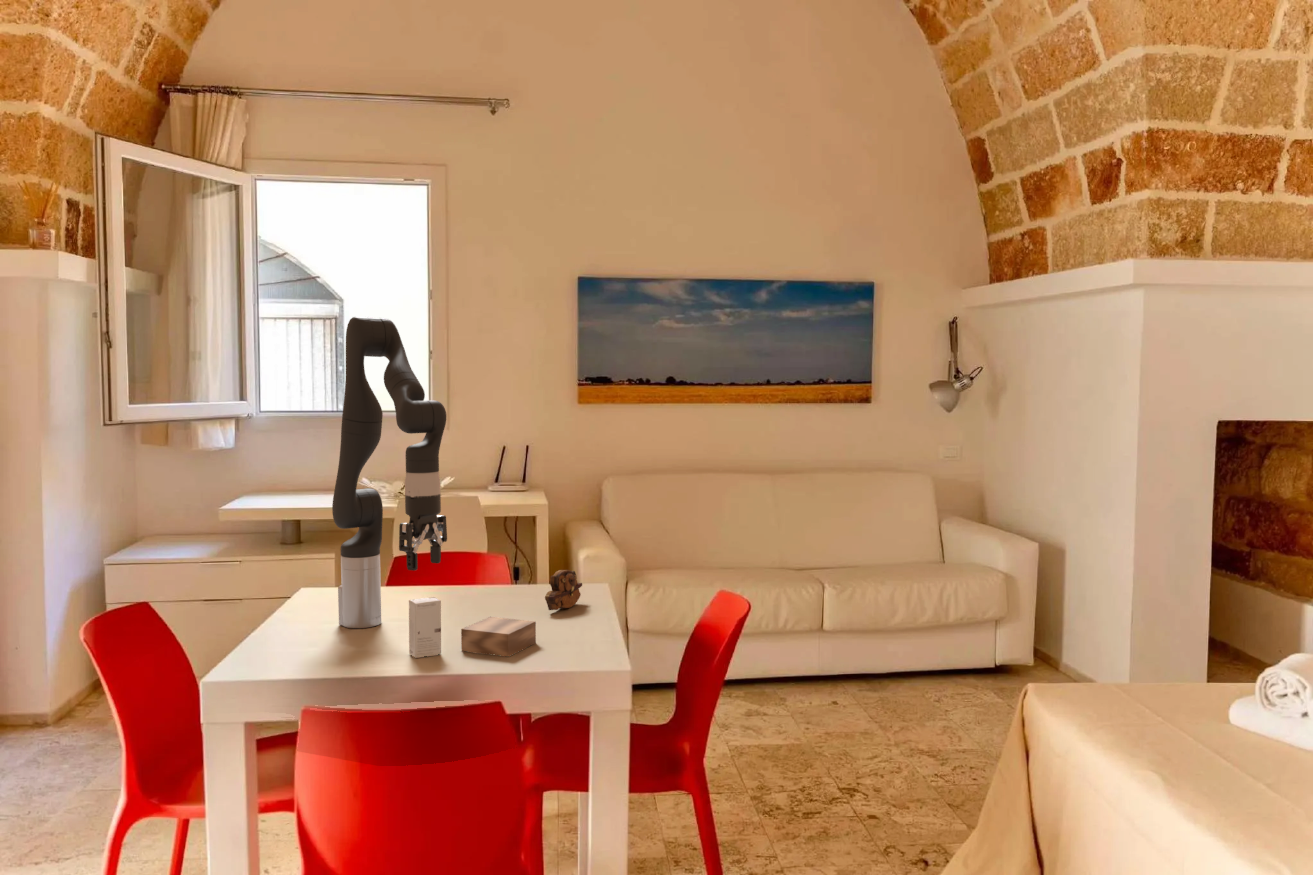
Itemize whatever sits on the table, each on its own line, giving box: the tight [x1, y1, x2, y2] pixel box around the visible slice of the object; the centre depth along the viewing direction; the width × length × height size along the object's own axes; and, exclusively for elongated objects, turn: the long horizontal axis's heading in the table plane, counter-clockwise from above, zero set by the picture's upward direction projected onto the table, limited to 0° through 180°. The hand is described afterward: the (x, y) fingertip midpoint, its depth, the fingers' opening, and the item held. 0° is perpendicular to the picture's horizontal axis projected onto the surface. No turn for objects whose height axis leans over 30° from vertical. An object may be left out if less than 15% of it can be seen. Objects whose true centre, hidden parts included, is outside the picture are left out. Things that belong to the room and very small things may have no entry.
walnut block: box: [460, 616, 537, 657], centre depth 225 cm, size 12×12×5 cm
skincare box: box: [408, 596, 442, 659], centre depth 219 cm, size 6×4×12 cm
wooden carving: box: [544, 569, 583, 611], centre depth 262 cm, size 16×5×10 cm, turn 161°
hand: (424, 566), depth 219 cm, fingers open, 8 cm apart
